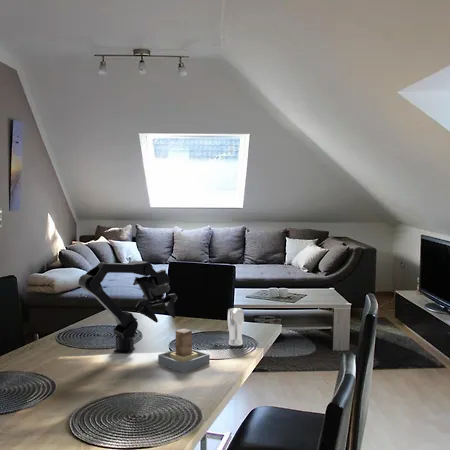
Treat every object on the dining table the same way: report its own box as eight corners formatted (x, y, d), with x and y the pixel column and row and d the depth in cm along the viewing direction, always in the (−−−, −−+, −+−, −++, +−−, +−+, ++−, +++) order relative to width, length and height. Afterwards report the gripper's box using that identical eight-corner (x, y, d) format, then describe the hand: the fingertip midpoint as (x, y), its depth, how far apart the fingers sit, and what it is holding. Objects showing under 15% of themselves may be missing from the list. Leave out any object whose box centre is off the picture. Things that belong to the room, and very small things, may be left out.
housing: (158, 363, 211) (158, 353, 211) (185, 354, 221) (185, 345, 221) (182, 372, 201) (182, 362, 201) (209, 363, 211) (209, 353, 211)
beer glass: (242, 347, 231) (242, 312, 230) (226, 346, 232) (226, 311, 231) (244, 342, 238) (245, 308, 236) (229, 341, 239) (229, 307, 238)
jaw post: (175, 361, 211) (175, 330, 210) (184, 358, 214) (184, 328, 213) (183, 363, 208) (183, 333, 207) (192, 360, 211) (191, 330, 210)
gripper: (139, 281, 219) (156, 312, 212) (174, 274, 232) (192, 304, 225) (127, 297, 225) (144, 328, 218) (162, 290, 238) (179, 319, 232)
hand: (166, 319), depth 223 cm, fingers open, 9 cm apart
